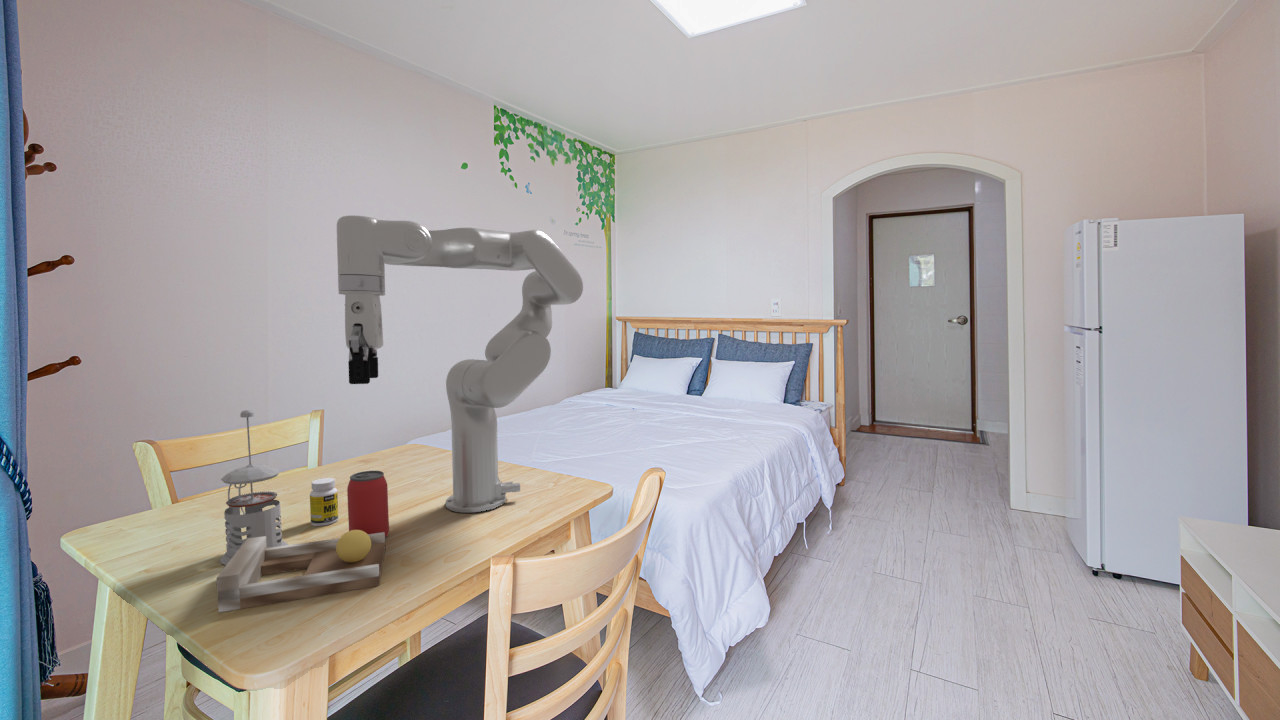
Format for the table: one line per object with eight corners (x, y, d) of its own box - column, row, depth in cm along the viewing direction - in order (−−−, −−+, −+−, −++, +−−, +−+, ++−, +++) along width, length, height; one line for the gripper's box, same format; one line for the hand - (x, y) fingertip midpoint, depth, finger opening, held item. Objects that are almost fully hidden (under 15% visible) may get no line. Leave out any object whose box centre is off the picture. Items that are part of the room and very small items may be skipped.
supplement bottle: (325, 527, 104) (323, 485, 103) (305, 525, 104) (302, 483, 104) (344, 518, 108) (342, 477, 108) (324, 516, 109) (322, 476, 108)
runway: (385, 548, 94) (384, 521, 94) (379, 585, 81) (377, 553, 81) (249, 568, 87) (247, 538, 86) (218, 612, 74) (216, 577, 73)
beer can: (358, 531, 102) (356, 469, 101) (394, 530, 102) (392, 469, 101) (342, 546, 95) (339, 480, 94) (380, 545, 96) (378, 479, 95)
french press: (236, 570, 86) (226, 416, 84) (203, 555, 91) (194, 411, 90) (300, 548, 94) (293, 408, 92) (267, 535, 100) (259, 403, 98)
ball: (373, 552, 89) (372, 523, 89) (370, 565, 85) (369, 534, 84) (339, 557, 87) (337, 527, 87) (334, 570, 83) (333, 539, 82)
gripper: (377, 284, 90) (380, 385, 91) (390, 289, 106) (392, 375, 107) (327, 283, 87) (330, 387, 88) (348, 288, 104) (351, 376, 105)
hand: (364, 380), depth 98 cm, fingers open, 9 cm apart
